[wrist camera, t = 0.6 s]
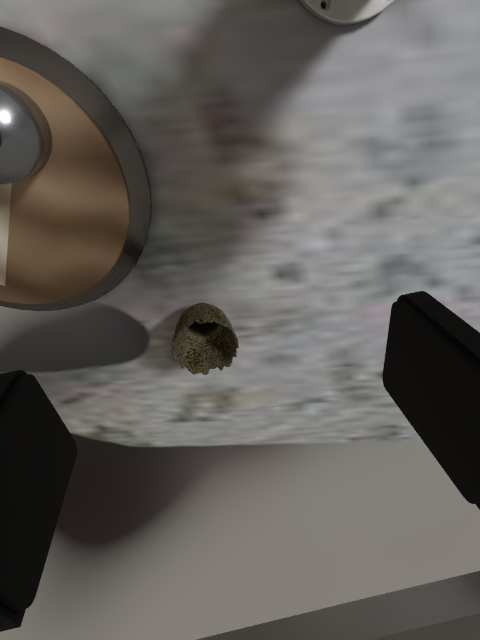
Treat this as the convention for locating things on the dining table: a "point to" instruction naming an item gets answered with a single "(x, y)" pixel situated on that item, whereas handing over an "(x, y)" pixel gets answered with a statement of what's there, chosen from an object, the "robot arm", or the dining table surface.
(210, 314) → the cup
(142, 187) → the turntable base
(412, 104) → the dining table surface
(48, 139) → the cover
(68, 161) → the platter
